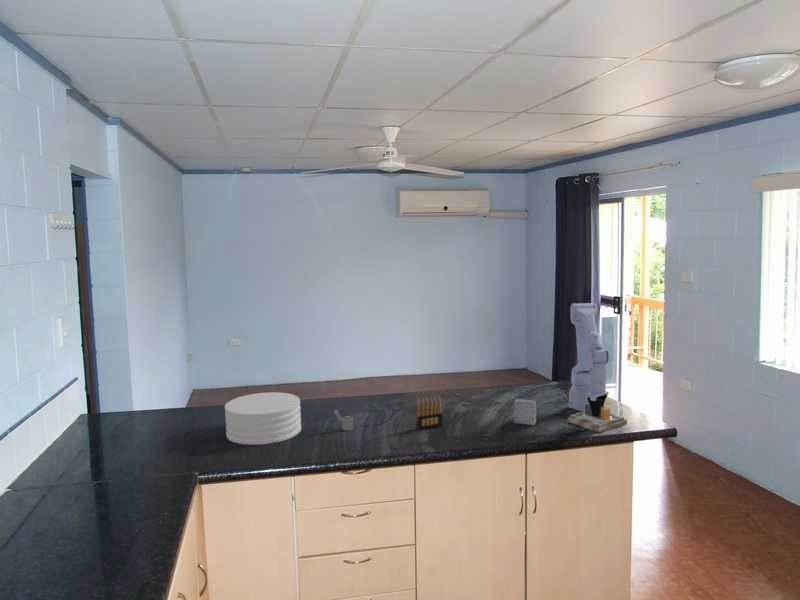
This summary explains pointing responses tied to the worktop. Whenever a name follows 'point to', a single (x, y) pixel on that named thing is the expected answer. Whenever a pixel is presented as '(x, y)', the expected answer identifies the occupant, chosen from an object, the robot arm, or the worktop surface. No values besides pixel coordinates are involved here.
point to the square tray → (597, 427)
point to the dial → (602, 418)
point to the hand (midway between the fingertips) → (597, 414)
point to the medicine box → (525, 411)
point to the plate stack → (263, 418)
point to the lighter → (345, 421)
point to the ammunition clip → (428, 414)
